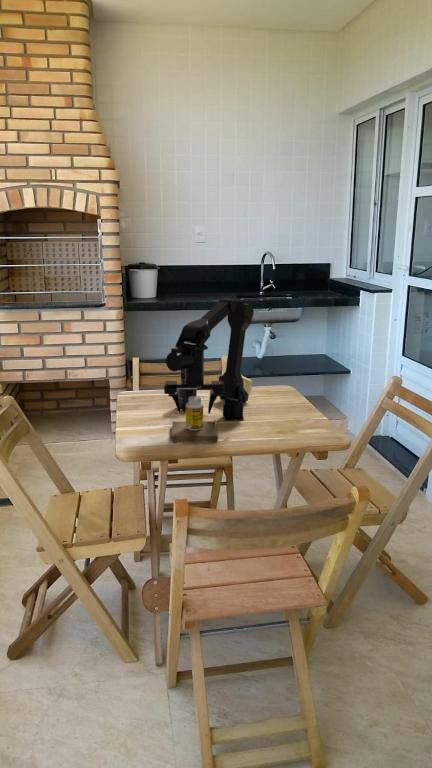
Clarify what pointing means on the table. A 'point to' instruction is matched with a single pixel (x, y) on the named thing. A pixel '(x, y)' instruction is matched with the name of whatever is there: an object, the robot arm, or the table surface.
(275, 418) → the table surface
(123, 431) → the table surface
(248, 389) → the sculpture
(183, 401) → the supplement bottle
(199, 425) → the supplement bottle
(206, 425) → the walnut block
